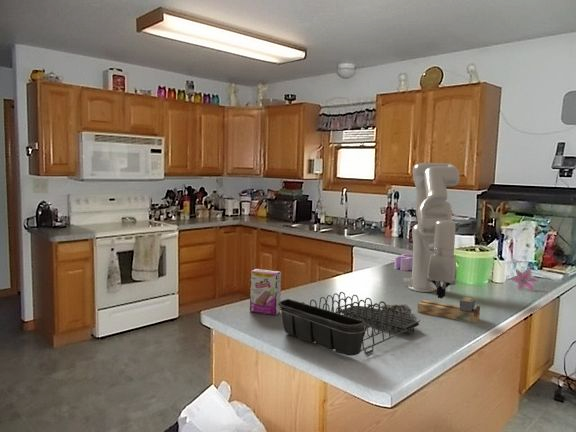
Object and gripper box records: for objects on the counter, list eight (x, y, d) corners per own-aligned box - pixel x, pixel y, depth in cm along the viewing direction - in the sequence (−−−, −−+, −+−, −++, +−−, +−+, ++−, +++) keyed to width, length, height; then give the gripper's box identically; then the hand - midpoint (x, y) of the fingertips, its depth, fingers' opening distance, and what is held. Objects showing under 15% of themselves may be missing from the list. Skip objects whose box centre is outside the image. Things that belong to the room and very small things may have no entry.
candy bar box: (249, 312, 174) (249, 270, 172) (254, 308, 179) (254, 268, 177) (276, 316, 171) (277, 273, 169) (280, 312, 175) (281, 271, 174)
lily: (504, 289, 221) (510, 275, 215) (511, 277, 228) (517, 262, 223) (530, 301, 215) (537, 286, 209) (536, 287, 223) (543, 273, 217)
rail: (417, 312, 179) (418, 300, 178) (421, 308, 184) (422, 296, 184) (476, 323, 167) (477, 310, 167) (479, 318, 172) (480, 306, 172)
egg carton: (384, 318, 171) (385, 307, 171) (380, 312, 179) (380, 302, 179) (412, 318, 172) (413, 308, 171) (406, 312, 179) (407, 302, 179)
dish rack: (272, 334, 152) (272, 300, 151) (354, 309, 182) (355, 280, 181) (350, 368, 127) (352, 327, 126) (430, 332, 157) (432, 298, 156)
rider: (459, 312, 170) (459, 299, 170) (462, 309, 175) (463, 296, 175) (471, 315, 168) (472, 302, 168) (474, 311, 173) (475, 298, 172)
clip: (407, 272, 251) (407, 259, 251) (389, 268, 261) (389, 256, 260) (427, 267, 264) (428, 256, 263) (409, 264, 274) (409, 252, 273)
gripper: (421, 251, 176) (419, 296, 178) (461, 256, 168) (458, 303, 170) (426, 248, 182) (424, 292, 184) (465, 252, 174) (462, 298, 176)
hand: (440, 297), depth 177 cm, fingers closed
